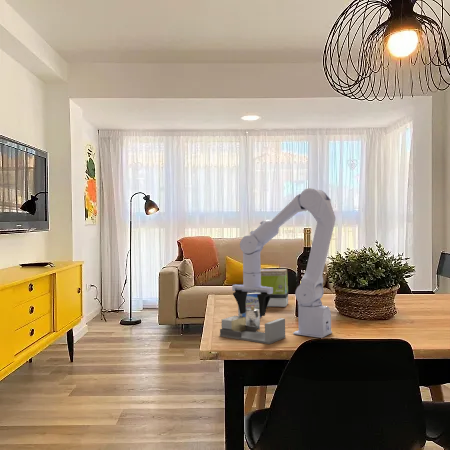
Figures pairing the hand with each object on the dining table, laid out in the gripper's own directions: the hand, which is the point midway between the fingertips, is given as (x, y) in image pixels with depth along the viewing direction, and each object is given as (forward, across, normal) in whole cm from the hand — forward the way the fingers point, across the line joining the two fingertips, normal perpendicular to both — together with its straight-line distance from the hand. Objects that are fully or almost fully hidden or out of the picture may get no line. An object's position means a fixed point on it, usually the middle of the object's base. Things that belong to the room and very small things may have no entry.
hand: (252, 314), depth 151 cm
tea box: (+5, +18, -40) cm, 44 cm away
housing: (+4, 0, 0) cm, 4 cm away
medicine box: (+5, +11, -15) cm, 19 cm away
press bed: (+4, -6, +10) cm, 13 cm away
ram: (+4, 0, +10) cm, 11 cm away
